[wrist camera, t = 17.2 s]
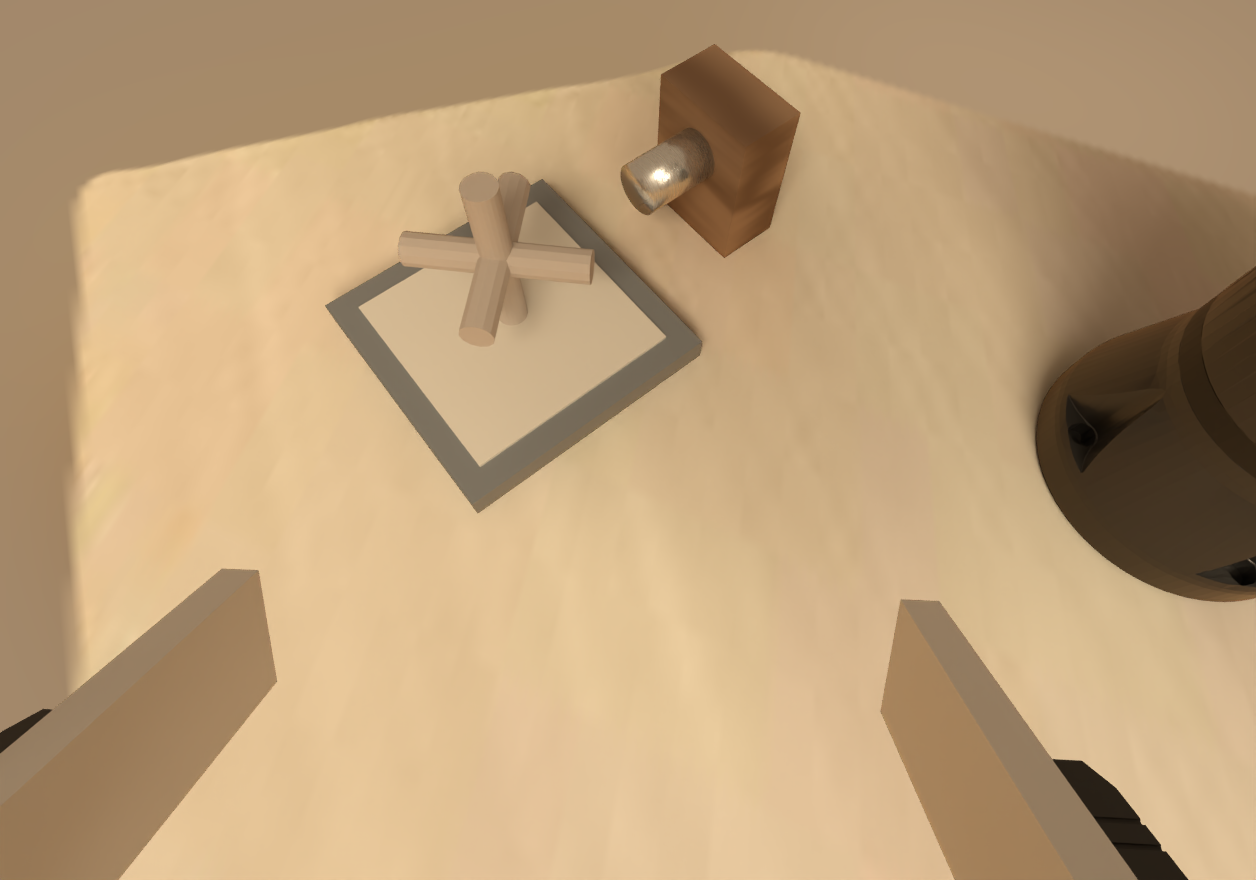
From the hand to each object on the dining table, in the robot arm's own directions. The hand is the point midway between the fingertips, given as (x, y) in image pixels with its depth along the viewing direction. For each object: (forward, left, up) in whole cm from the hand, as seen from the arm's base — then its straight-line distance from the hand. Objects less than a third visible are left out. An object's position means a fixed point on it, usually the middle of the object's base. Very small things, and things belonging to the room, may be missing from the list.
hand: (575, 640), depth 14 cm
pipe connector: (-9, -20, -20) cm, 30 cm away
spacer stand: (-13, -20, -21) cm, 32 cm away
